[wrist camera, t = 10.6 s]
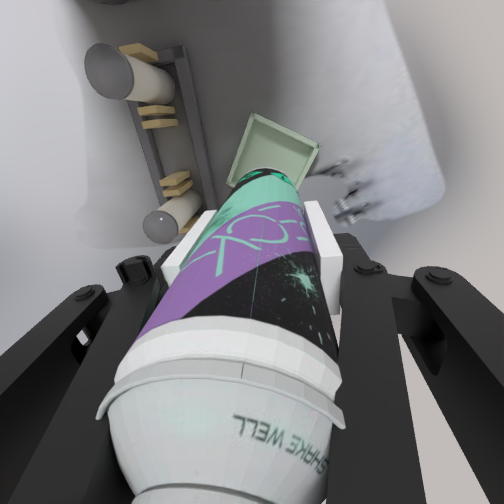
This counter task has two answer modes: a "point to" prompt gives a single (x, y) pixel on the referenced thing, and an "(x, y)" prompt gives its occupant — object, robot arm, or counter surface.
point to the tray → (272, 151)
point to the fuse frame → (193, 117)
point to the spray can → (234, 365)
